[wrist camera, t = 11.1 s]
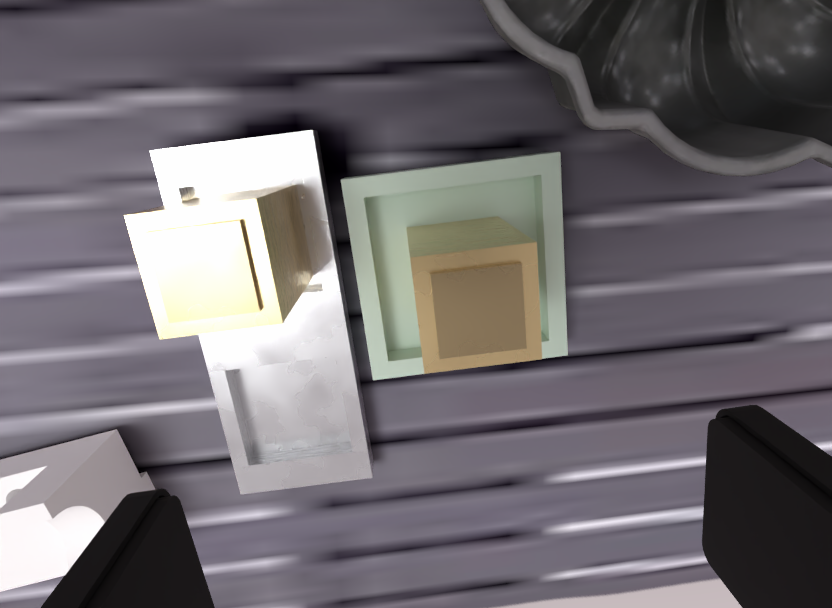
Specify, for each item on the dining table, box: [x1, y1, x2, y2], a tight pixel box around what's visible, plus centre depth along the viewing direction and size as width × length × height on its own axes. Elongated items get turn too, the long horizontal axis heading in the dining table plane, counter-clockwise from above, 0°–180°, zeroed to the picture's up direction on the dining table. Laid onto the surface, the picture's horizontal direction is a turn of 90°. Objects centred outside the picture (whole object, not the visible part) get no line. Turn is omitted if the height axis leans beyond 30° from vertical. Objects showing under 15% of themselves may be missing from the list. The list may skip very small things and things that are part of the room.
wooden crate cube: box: [406, 216, 542, 374], centre depth 24 cm, size 5×5×8 cm
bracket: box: [0, 429, 155, 592], centre depth 29 cm, size 13×7×8 cm, turn 105°
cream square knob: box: [124, 184, 313, 339], centre depth 23 cm, size 5×5×8 cm
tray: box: [341, 152, 568, 380], centre depth 28 cm, size 11×11×2 cm
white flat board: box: [150, 130, 374, 494], centre depth 29 cm, size 20×8×2 cm, turn 7°
